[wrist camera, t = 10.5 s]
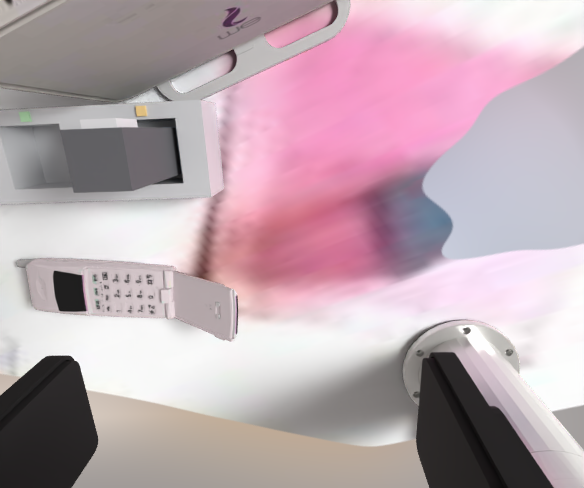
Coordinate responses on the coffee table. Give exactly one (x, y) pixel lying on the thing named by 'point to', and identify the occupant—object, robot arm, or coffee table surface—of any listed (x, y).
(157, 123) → the socket block
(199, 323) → the mobile phone
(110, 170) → the plug
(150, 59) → the network device
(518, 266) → the coffee table surface
